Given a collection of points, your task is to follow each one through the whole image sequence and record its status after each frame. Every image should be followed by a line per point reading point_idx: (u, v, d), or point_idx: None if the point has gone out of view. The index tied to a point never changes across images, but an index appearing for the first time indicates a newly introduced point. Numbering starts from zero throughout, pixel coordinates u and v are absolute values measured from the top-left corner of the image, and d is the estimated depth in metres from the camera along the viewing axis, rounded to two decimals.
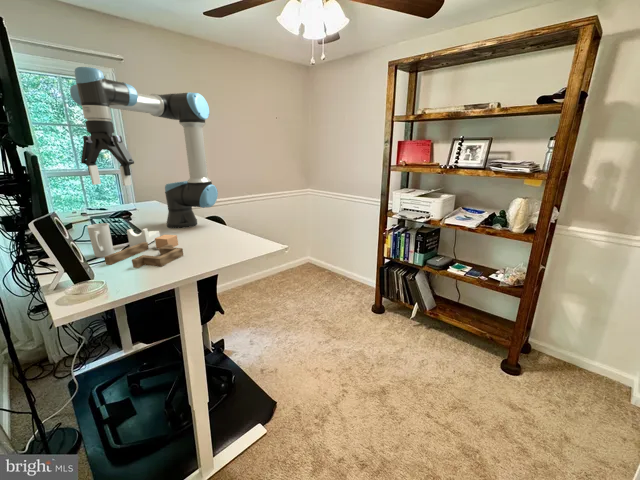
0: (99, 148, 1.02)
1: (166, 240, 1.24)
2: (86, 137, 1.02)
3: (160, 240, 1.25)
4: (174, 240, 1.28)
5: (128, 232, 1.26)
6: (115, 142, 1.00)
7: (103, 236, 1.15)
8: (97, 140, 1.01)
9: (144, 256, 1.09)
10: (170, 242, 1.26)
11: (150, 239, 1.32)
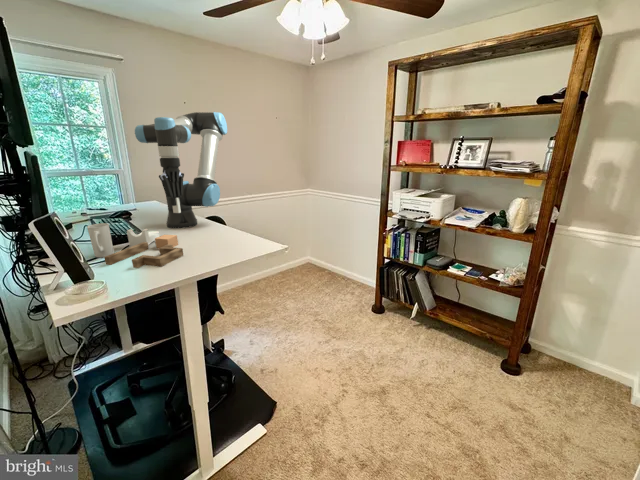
0: None
1: (166, 240, 1.24)
2: (178, 173, 1.33)
3: (160, 240, 1.25)
4: (174, 240, 1.28)
5: (128, 232, 1.26)
6: None
7: (103, 236, 1.15)
8: None
9: (144, 256, 1.09)
10: (170, 242, 1.26)
11: (150, 239, 1.32)
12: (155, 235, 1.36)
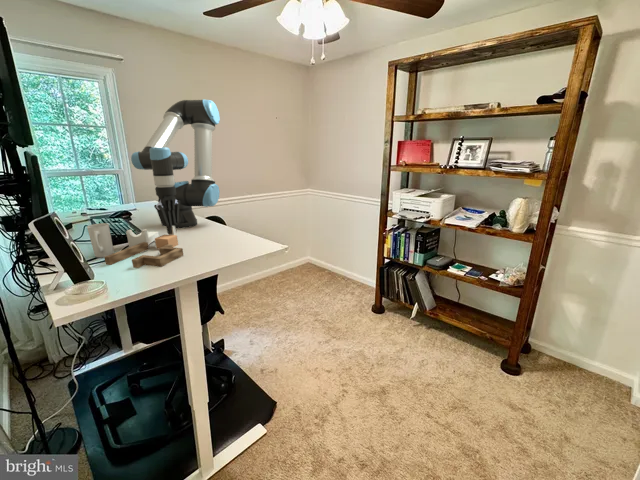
0: None
1: (167, 240, 1.24)
2: (174, 200, 1.32)
3: (160, 240, 1.25)
4: (174, 240, 1.29)
5: (127, 233, 1.25)
6: None
7: (103, 236, 1.15)
8: None
9: (144, 256, 1.09)
10: (170, 242, 1.26)
11: (150, 240, 1.31)
12: (154, 235, 1.36)
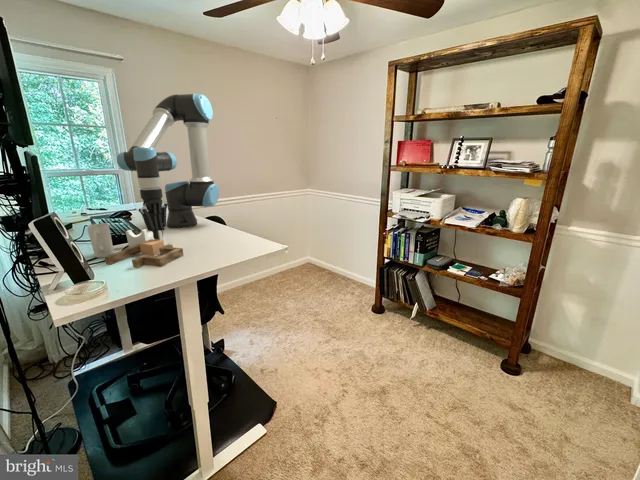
0: None
1: (151, 245, 1.17)
2: None
3: (145, 245, 1.18)
4: (160, 245, 1.21)
5: (127, 233, 1.25)
6: None
7: (103, 236, 1.15)
8: None
9: (144, 256, 1.09)
10: (156, 248, 1.19)
11: None
12: None
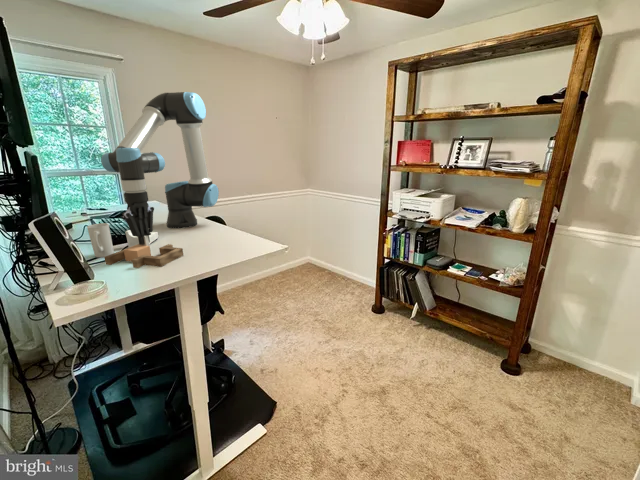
0: None
1: (136, 252, 1.10)
2: None
3: (129, 252, 1.11)
4: (146, 251, 1.14)
5: (127, 233, 1.25)
6: None
7: (103, 236, 1.15)
8: None
9: (144, 256, 1.09)
10: (141, 254, 1.12)
11: None
12: (154, 236, 1.35)
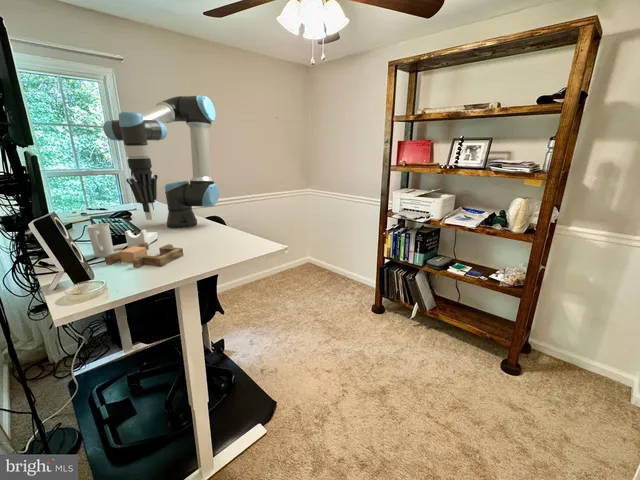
0: None
1: (132, 253, 1.09)
2: None
3: (126, 253, 1.10)
4: (142, 253, 1.13)
5: (126, 233, 1.24)
6: None
7: (103, 236, 1.15)
8: None
9: (144, 256, 1.09)
10: (137, 255, 1.11)
11: (149, 240, 1.30)
12: (153, 236, 1.35)
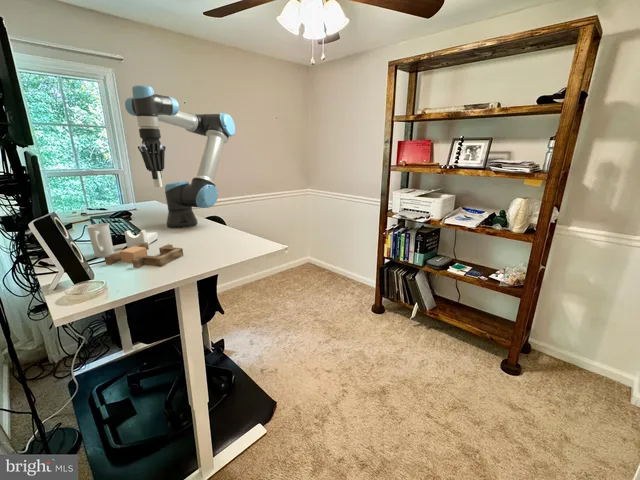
0: None
1: (132, 253, 1.09)
2: None
3: (125, 253, 1.10)
4: (142, 253, 1.13)
5: (126, 234, 1.24)
6: None
7: (103, 236, 1.15)
8: None
9: (144, 256, 1.09)
10: (137, 256, 1.11)
11: (148, 241, 1.30)
12: (153, 236, 1.35)
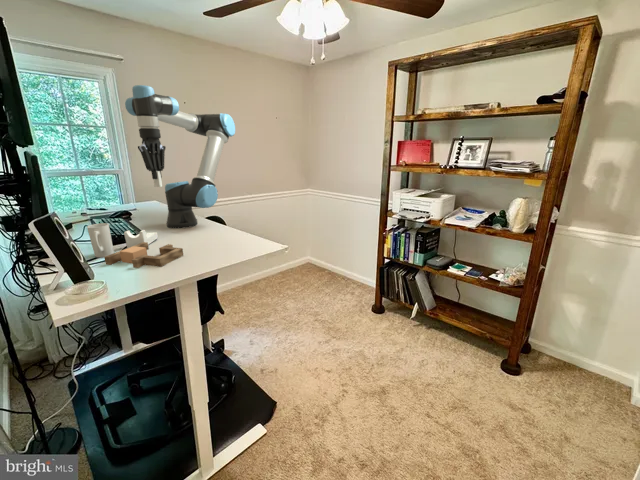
0: None
1: (132, 254, 1.09)
2: None
3: (125, 253, 1.10)
4: (142, 253, 1.13)
5: (125, 234, 1.24)
6: None
7: (103, 236, 1.15)
8: None
9: (144, 256, 1.09)
10: (137, 256, 1.11)
11: (148, 241, 1.30)
12: (153, 236, 1.34)
